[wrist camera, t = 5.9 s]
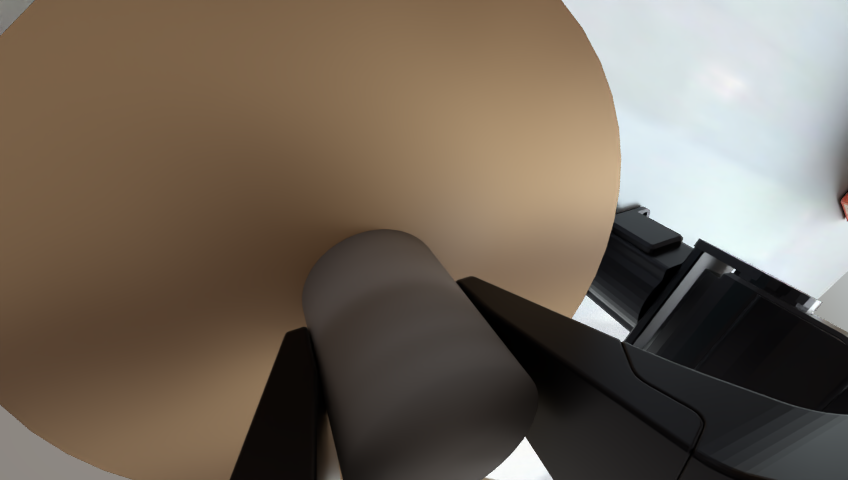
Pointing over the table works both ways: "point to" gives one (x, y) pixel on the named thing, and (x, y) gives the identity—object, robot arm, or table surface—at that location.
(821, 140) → the table surface
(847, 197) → the cracker box
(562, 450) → the robot arm
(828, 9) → the table surface
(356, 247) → the lid
